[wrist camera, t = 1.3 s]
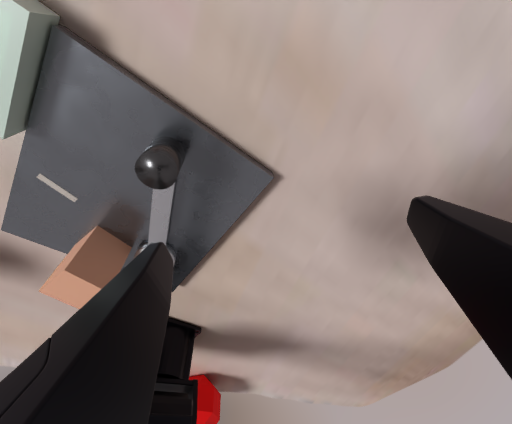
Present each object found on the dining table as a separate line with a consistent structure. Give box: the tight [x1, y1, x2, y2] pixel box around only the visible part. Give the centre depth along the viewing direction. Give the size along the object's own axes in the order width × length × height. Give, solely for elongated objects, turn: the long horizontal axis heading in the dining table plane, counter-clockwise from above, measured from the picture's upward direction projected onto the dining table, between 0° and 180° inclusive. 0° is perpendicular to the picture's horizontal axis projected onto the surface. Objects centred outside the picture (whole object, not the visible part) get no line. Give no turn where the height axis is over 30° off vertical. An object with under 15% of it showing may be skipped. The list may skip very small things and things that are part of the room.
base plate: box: [1, 25, 274, 292], centre depth 20 cm, size 16×18×1 cm
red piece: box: [189, 375, 221, 424], centre depth 40 cm, size 8×8×8 cm
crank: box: [134, 136, 185, 267], centre depth 19 cm, size 14×4×4 cm, turn 162°
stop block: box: [39, 226, 132, 309], centre depth 20 cm, size 4×4×5 cm
